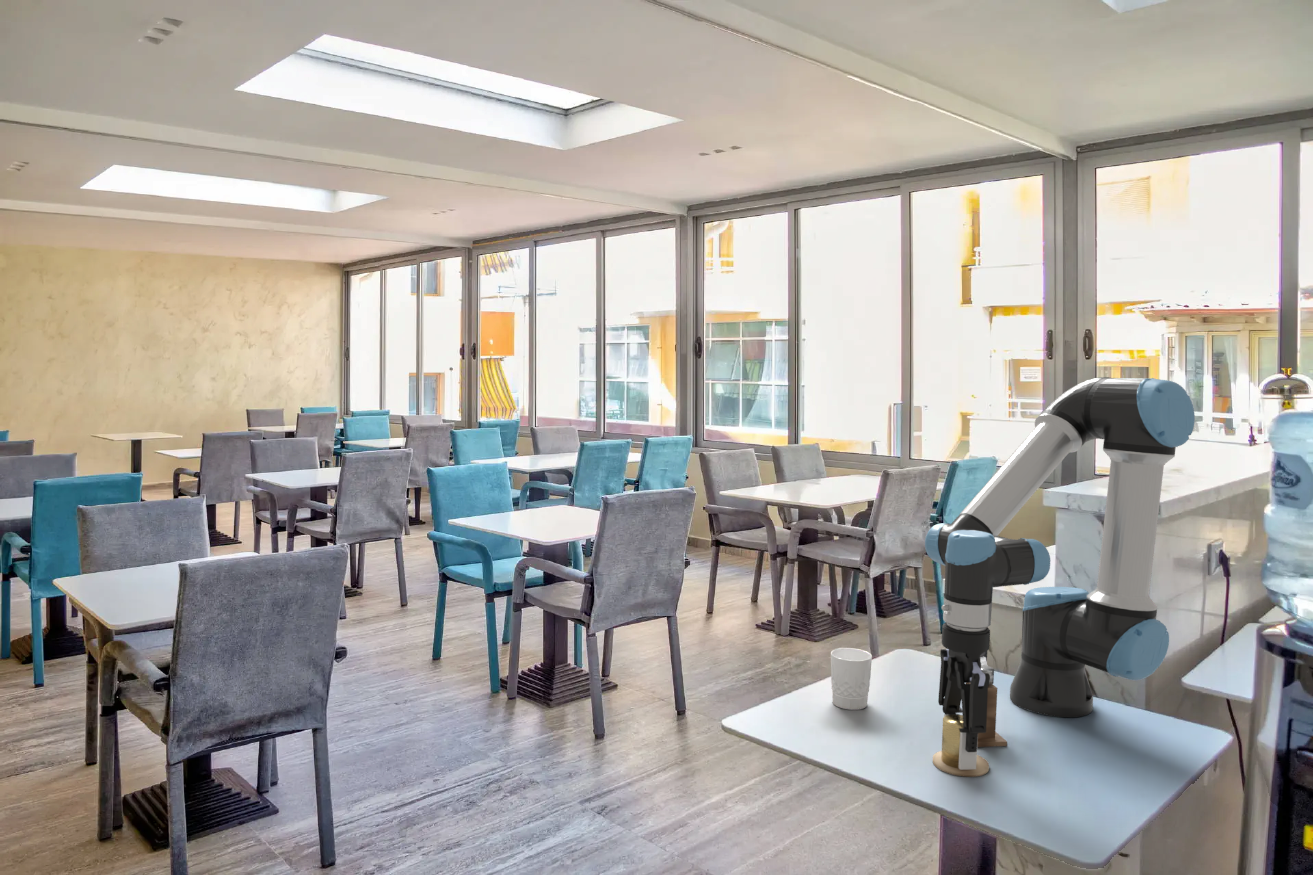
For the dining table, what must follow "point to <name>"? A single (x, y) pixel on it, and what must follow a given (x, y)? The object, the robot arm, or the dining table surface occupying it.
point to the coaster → (980, 770)
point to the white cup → (850, 677)
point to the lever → (986, 667)
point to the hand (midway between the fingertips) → (958, 759)
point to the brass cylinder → (951, 739)
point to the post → (991, 722)
